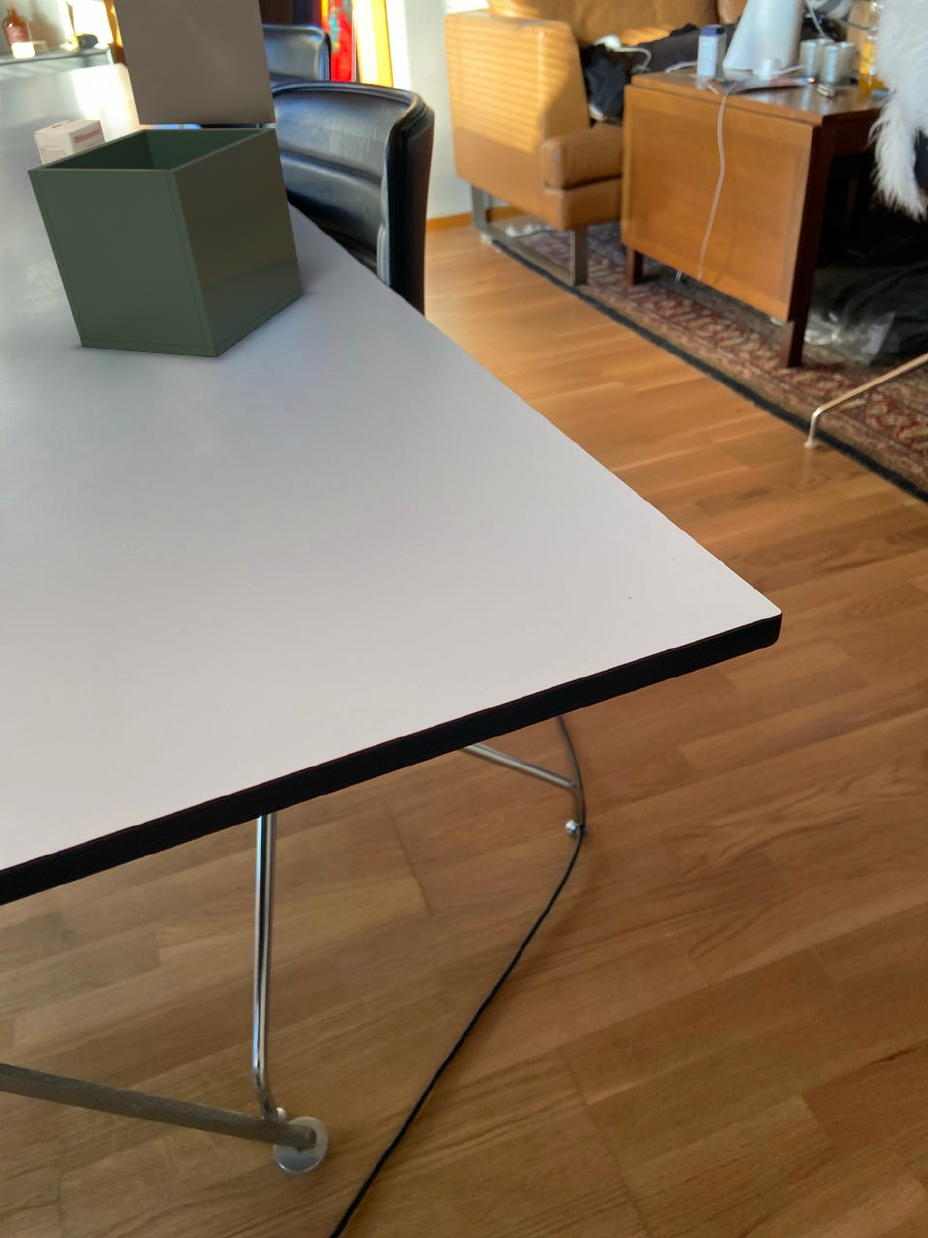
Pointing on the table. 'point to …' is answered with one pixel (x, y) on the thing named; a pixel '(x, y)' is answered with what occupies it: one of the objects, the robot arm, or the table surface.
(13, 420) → the table surface
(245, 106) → the bin lid
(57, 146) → the ink box
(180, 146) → the trash can
